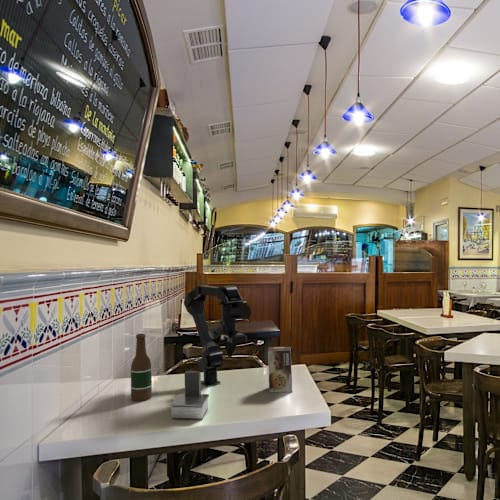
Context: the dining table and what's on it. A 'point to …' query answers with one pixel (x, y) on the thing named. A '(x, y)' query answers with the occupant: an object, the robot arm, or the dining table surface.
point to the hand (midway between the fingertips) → (229, 357)
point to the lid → (191, 391)
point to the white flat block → (189, 412)
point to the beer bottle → (141, 372)
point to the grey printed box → (280, 369)
